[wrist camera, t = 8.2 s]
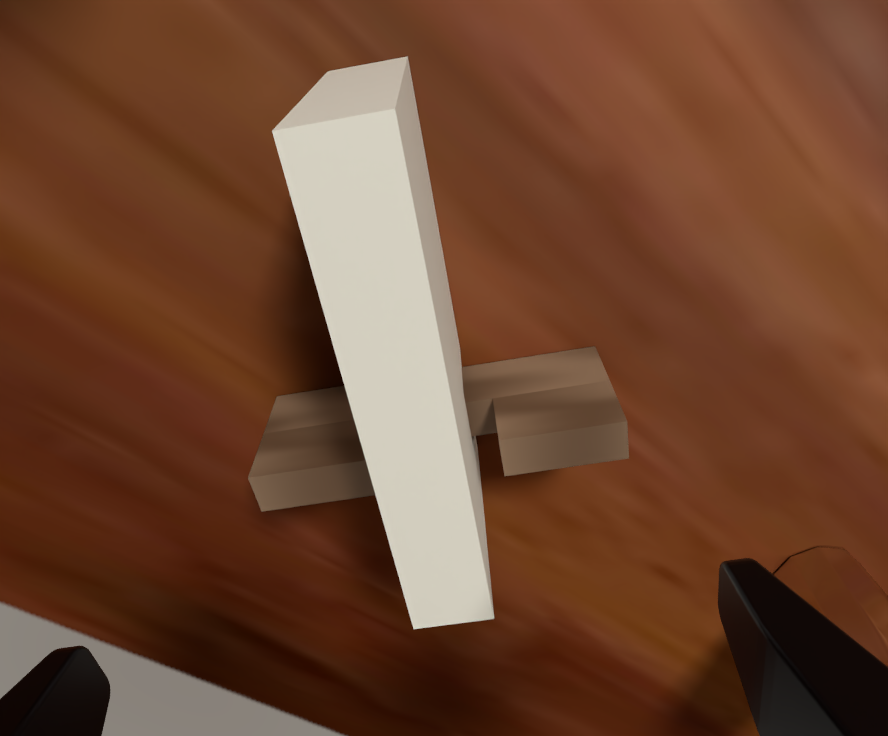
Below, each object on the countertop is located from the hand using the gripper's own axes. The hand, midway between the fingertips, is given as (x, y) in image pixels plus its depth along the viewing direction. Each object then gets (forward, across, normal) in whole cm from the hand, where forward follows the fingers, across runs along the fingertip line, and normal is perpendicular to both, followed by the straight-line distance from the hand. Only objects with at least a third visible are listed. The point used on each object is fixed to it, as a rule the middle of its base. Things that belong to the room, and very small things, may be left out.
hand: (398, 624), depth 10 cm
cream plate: (+12, 0, 0) cm, 12 cm away
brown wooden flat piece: (+12, 0, +4) cm, 12 cm away
